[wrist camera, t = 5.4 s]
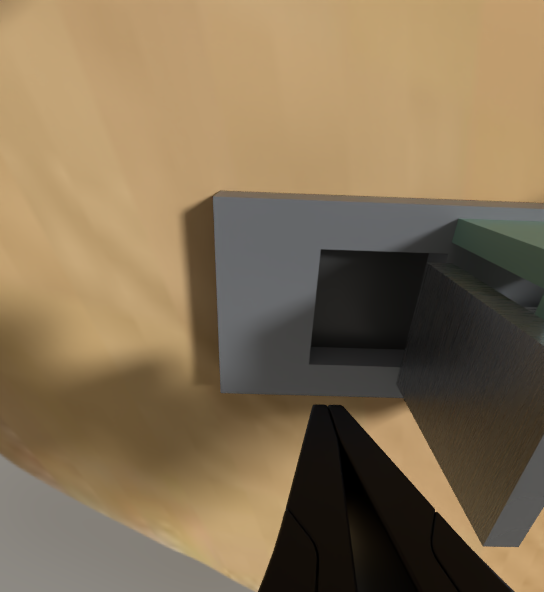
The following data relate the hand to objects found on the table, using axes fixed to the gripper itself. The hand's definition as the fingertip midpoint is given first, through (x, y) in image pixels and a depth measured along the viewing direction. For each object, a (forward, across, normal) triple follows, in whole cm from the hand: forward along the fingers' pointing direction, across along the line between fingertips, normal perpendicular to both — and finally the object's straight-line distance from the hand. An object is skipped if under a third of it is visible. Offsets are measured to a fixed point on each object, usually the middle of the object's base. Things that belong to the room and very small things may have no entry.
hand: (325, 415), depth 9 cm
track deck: (+8, -8, 0) cm, 11 cm away
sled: (+6, -12, 0) cm, 13 cm away
